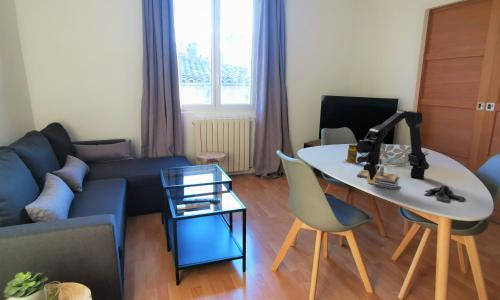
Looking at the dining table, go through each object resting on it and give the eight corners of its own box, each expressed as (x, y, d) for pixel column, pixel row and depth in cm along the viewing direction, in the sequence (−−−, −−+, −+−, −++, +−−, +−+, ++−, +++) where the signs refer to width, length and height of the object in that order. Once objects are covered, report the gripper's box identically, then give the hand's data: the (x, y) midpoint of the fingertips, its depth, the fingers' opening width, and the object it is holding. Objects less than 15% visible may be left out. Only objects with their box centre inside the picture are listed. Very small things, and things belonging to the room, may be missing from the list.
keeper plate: (397, 176, 179) (398, 165, 177) (394, 183, 168) (395, 171, 167) (362, 171, 189) (363, 160, 188) (356, 176, 179) (358, 165, 177)
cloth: (443, 188, 162) (445, 177, 161) (475, 202, 145) (478, 190, 143) (407, 191, 158) (409, 180, 156) (436, 206, 140) (438, 193, 139)
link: (398, 184, 164) (399, 173, 163) (395, 189, 157) (397, 178, 156) (369, 179, 172) (370, 168, 171) (365, 183, 165) (366, 173, 163)
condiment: (355, 164, 205) (357, 146, 202) (342, 162, 209) (344, 145, 206) (357, 161, 211) (359, 144, 208) (345, 159, 215) (346, 143, 212)
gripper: (363, 146, 175) (360, 172, 179) (354, 153, 160) (352, 181, 164) (383, 149, 170) (380, 175, 173) (377, 156, 154) (374, 185, 158)
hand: (371, 179), depth 167 cm, fingers closed on link
